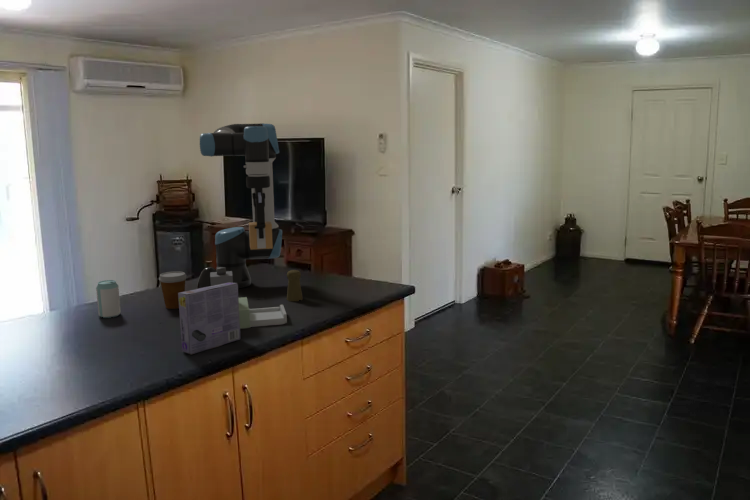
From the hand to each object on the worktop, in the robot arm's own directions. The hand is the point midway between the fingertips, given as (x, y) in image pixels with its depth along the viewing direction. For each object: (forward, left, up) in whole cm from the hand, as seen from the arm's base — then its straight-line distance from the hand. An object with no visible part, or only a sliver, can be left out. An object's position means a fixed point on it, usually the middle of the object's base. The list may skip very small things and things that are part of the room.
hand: (261, 246), depth 207 cm
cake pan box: (+22, -16, -25) cm, 37 cm away
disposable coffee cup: (-25, -30, -25) cm, 47 cm away
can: (-19, -51, -25) cm, 60 cm away
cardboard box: (0, 0, 0) cm, 0 cm away
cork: (-23, +13, -25) cm, 36 cm away
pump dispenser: (-18, -17, -25) cm, 35 cm away
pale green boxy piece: (0, -6, -25) cm, 26 cm away
